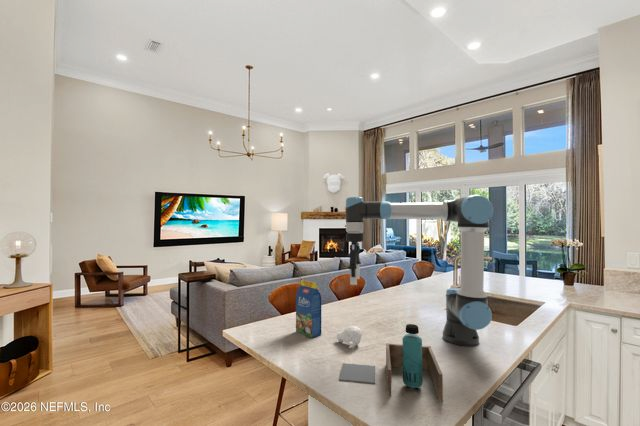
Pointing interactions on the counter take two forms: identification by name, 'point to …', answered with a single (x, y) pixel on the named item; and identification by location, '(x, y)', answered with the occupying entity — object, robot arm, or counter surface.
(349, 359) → the counter surface
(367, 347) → the counter surface
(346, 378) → the mat
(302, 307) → the blue food package
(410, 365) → the beverage bottle
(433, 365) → the wooden u-frame
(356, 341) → the white crumpled lump
